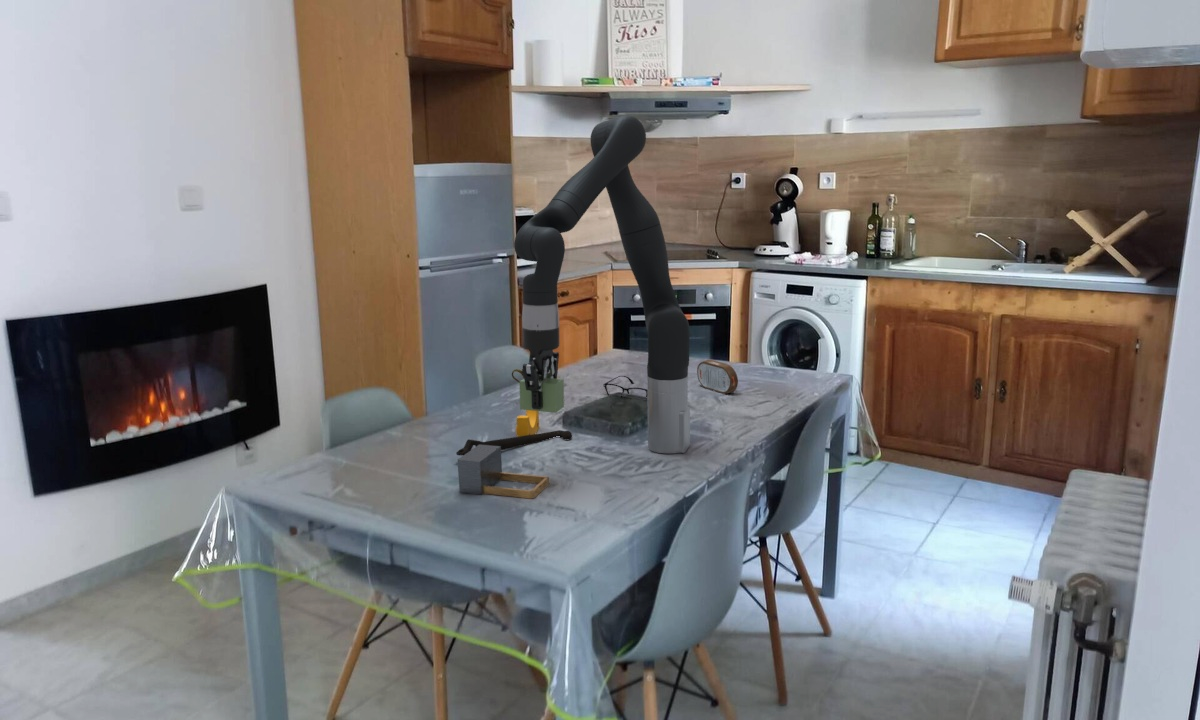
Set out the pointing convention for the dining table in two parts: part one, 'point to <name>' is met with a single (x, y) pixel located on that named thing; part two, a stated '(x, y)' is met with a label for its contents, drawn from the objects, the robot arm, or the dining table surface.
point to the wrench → (515, 441)
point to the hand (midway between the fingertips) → (542, 405)
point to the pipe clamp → (527, 423)
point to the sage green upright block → (544, 396)
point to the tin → (717, 376)
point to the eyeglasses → (622, 387)
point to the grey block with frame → (492, 474)
